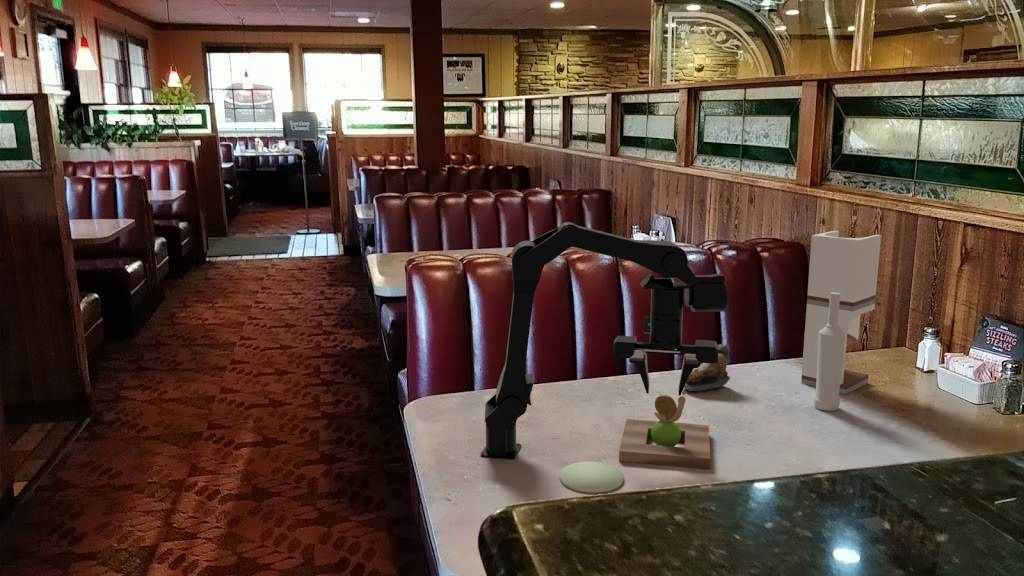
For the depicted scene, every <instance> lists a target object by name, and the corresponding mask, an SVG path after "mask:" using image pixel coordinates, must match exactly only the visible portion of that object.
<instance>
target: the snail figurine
mask: <svg viewBox="0 0 1024 576" xmlns="http://www.w3.org/2000/svg"><path fill="white" fill-rule="evenodd" d="M686 394H687V390H684V391H682V393H681V396H679V397H678V398H677V403H678V404H677V403H676V401H675V400H674V399H673V398H672V396H669V395H667V394H660V395H658V396H657V397H656V398H655V400H654V407H655V412H654V413H653V414H654V415H655V417H656V418H657V421H658V422H656V423H655V424H654V426H653V428H652V432H651V435H652V438H651V439H652V441H653V443H654V445H655V444H656V445H660V446H672V447H677V445H678V444H679V442H680V441H681V440H680V437H681V431H680V428H679V426H678V425H677V424H676V423H677V421H678V420H679V419H680V418H681V416H682V414H683V410H684V408H685V407H684V406H685V404H686V396H685V395H686Z"/></svg>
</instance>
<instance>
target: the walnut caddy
mask: <svg viewBox="0 0 1024 576" xmlns="http://www.w3.org/2000/svg"><path fill="white" fill-rule="evenodd" d="M658 421H659V420H645V419H644V420H643V419H632V418H631V419H630V418H626V420H625V424H624V429H623V433H622V438H621V441H620V446H619V449H618V461H619V462H623V463H637V464H647V465H655V466H656V465H657V466H670V467H681V468H693V469H701V470H702V469H703V470H704V469H705V470H710V469H711V446H710V445H711V443H710V425H709V424H698V423H684V422H683V423H682V422H675V423H676V424H677V425H678V426H679V428H680V431H681V437H680V440H679V441H681V442H682V441H684V446H674V447H672V446H660V445H655V444H648V439H652V435H651V432H652V428H653V426H654V424H655V423H656V422H658Z"/></svg>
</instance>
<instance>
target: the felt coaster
mask: <svg viewBox="0 0 1024 576" xmlns="http://www.w3.org/2000/svg"><path fill="white" fill-rule="evenodd" d="M624 480H625V479H624V474H623V472H622V471H621V469H619V468H618V467H616V466H613V465H611V464H608V463H604V462H599V461H580V462H579V461H578V462H575V463H571V464H568V465H566V466H564V467H562V469H561V470H560V471H559V481H560V483H561V484H562V485H563V486H564V487H566V488H568V489H570V490H573V491H576V492H580V493H586V494H587V493H588V494H601V493H602V494H604V493H607V492H612V491H614V490H617V489H618V488H621V486H622V485H623V484H624Z"/></svg>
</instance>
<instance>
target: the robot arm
mask: <svg viewBox="0 0 1024 576" xmlns="http://www.w3.org/2000/svg"><path fill="white" fill-rule="evenodd" d="M571 248H575V249H580V250H583V251H588V252H592V253H595V254H596V253H597V254H601V255H603V256H604V255H605V256H608V257H612V258H617V259H620V260H625V261H628V262H632V263H635V264H638V265H640V266H641V267H644V268H646V270H649V271H651V272H653V273H656V274H658V275H660V276H663V277H655V276H654V275H653V274H652V273H648V274H647V276H646V277H645V278H643V280H641V281H640V283H639V284H640V286H641V287H642V288H643V289H645V290H651V291H650V293H651V294H650V316H646V315H645V316H644V317H643V319H644V320H643V333H644V334H649V342H643V341H637V336H634V335H633V336H632V335H617V336H616V337H615V338H614V342H613V345H612V357H613V358H618V359H628V362H629V363H630V364H634V365H635V367H636V369H637V371H638V374H639V375H640V377H641V381H642V384H643V387H644V390H645V393H646V394H649V393H650V378H649V367H648V354H656V355H657V354H659V355H675V356H676V355H677V356H683V360H682V366H681V372H680V379H679V383H678V396H679V397H681V396H682V392H684V391H683V390H684V389H685V388H684V386H685V384H686V381H687V379H688V377H689V375H690V374H691V372H692V371H693V369H695V368H698V367H700V364H702V363H714V364H715V363H718V345H719V344H718V343H717V341H715V340H707V339H705V340H704V339H695V344H682V342H683V341H682V340H683V318H684V317H683V313H684V311H683V310H684V303H685V306H686V307H689V308H690V310H691V312H692V313H693V312H694V313H697V312H698V313H705V312H706V313H708V312H710V313H711V312H713V313H716V312H717V313H718V312H719V313H720V312H721V313H722V312H725V311H726V310H727V307H728V302H729V300H728V299H729V297H728V294H727V287H726V283H725V275H724V274H722V273H713V274H712V273H711V274H695V272H694V271H692V270H691V268H690V266H689V265H688V263H689V260H688V259H689V258H688V255H687V254H686V251H685V250H684V249H683V248H682V247H680V246H679V245H677V244H676V243H674V242H671V241H669V240H655V239H643V240H642V239H633V238H628V237H625V236H621V235H618V234H613V233H609V232H605V231H602V230H597V229H592V228H588V227H587V226H586V227H585V226H582V225H577V224H575V223H573V222H571V221H570V222H569V221H565V222H563V223H561V224H560V225H559V226H557V227H556V228H554V229H551V230H550V231H548V232H546V233H544V234H541V235H539V236H538V237H536V238H534V239H533V240H522V241H520V242H518V243H517V244H516V245H515V246H513V248H512V251H511V253H510V254H511V255H510V257H511V258H510V259H511V271H512V273H511V274H512V287H513V288H512V289H513V292H512V294H513V295H512V302H511V309H510V310H511V313H510V321H509V327H508V328H509V330H508V335H507V336H508V337H507V338H508V339H507V347H506V355H505V363H504V365H503V368H502V371H501V374H500V375H499V380H498V383H497V386H496V390H495V394H494V395H492V396H491V397H490V398H489V399H488V400H487V401H486V402H485V406H484V407H485V409H484V423H485V446H484V448H483V449H482V451H481V453H480V458H489V459H490V458H491V459H500V460H501V459H502V460H515V459H516V457H517V455H518V453H519V452H520V450H521V448H522V444H521V443H517V420H518V419H519V418H520V417H522V416H523V415H525V413H526V412H527V408H528V405H529V406H532V399H531V398H532V397H531V394H532V391H533V387H534V379H533V374H532V373H526V364H527V363H526V362H527V356H528V347H529V339H530V331H531V322H532V321H531V320H532V313H533V306H534V305H533V304H534V296H535V294H536V291H537V289H538V286H539V283H540V280H541V277H542V274H543V270H544V267H545V265H547V264H548V263H550V262H552V261H554V260H555V259H556V258H558V257H559V256H560V255H562V254H563V253H564V252H566V251H567V250H568V249H571ZM675 278H676V279H678V280H679V281H681V282H676V281H675V282H673V280H672V279H675Z"/></svg>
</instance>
